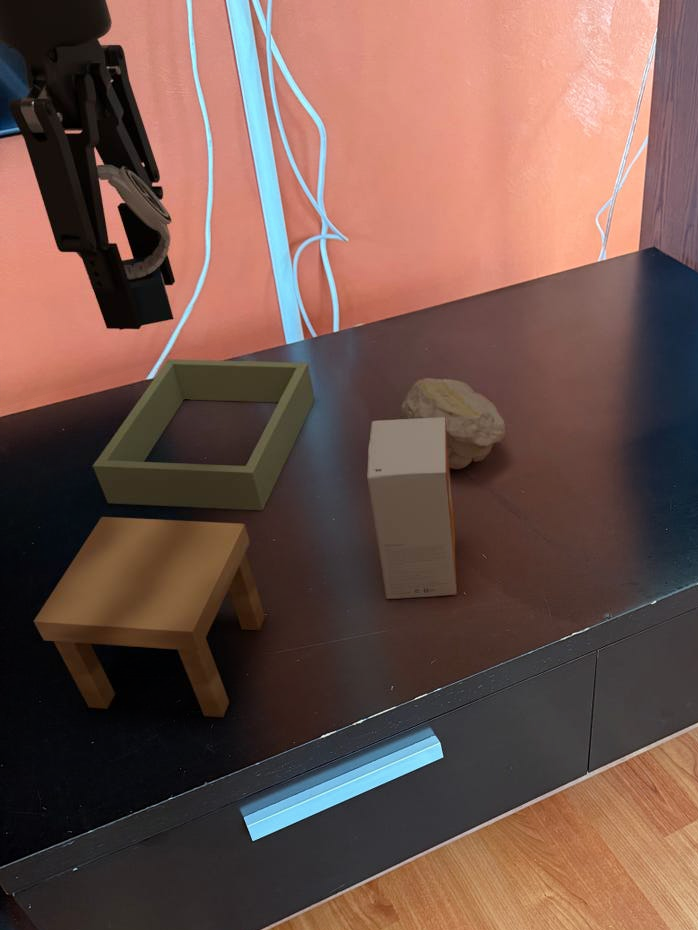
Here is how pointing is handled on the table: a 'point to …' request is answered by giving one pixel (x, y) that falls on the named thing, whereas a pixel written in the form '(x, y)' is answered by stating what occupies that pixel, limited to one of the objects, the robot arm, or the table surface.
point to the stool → (151, 599)
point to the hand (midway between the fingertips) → (142, 303)
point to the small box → (412, 506)
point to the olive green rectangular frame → (203, 483)
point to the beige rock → (457, 417)
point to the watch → (144, 269)
